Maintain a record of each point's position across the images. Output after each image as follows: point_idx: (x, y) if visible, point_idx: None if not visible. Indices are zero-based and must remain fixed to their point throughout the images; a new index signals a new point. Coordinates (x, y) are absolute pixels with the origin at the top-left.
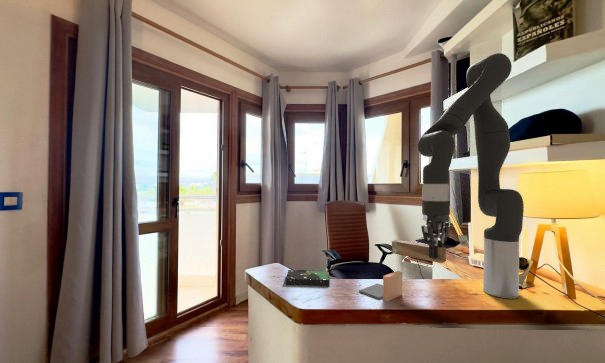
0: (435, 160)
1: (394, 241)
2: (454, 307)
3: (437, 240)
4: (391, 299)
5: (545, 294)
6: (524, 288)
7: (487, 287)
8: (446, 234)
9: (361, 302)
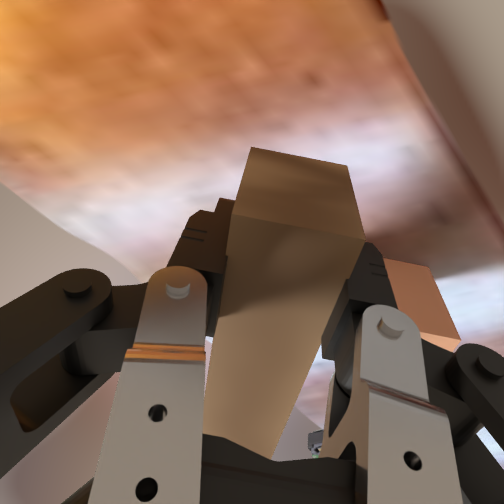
0: None
1: None
2: (339, 11)
3: (371, 360)
4: (402, 262)
5: None
6: None
7: None
8: (2, 340)
9: (485, 324)
